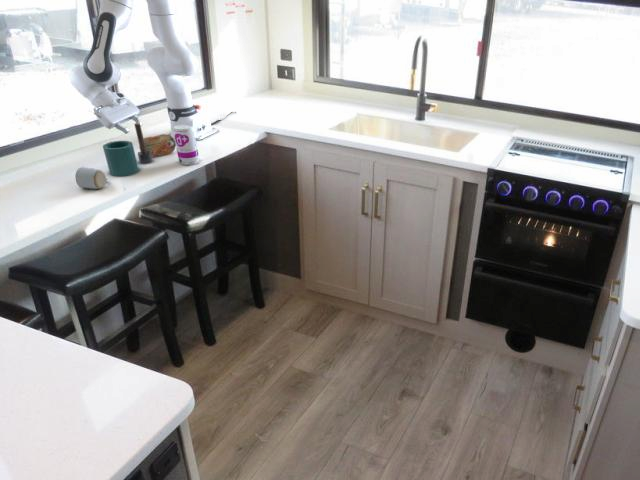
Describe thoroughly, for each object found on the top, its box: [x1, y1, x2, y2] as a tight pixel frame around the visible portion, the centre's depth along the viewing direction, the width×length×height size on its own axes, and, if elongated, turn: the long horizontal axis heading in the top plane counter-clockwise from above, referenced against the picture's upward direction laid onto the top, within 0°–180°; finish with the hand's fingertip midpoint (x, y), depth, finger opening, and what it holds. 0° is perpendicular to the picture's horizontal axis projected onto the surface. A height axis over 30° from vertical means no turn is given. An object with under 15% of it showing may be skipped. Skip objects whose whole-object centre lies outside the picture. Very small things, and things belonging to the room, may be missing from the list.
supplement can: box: [173, 124, 200, 166], centre depth 240 cm, size 8×8×15 cm
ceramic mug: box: [75, 166, 109, 190], centre depth 218 cm, size 11×8×8 cm
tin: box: [138, 133, 176, 159], centre depth 249 cm, size 15×3×8 cm, turn 131°
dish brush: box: [134, 122, 153, 165], centre depth 240 cm, size 5×5×16 cm
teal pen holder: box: [102, 140, 139, 177], centre depth 231 cm, size 11×11×11 cm
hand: (134, 129), depth 237 cm, fingers open, 8 cm apart
